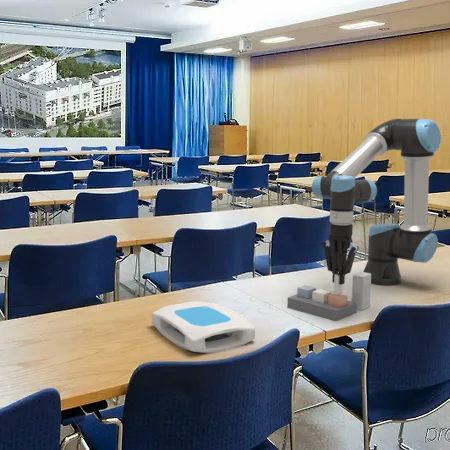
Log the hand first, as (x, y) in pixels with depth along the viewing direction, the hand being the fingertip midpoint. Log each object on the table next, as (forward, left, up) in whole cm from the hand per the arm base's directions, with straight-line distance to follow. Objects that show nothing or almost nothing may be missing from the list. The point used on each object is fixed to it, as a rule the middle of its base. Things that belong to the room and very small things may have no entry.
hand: (337, 292), depth 200 cm
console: (0, -6, -7) cm, 10 cm away
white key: (0, -6, -5) cm, 8 cm away
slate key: (0, -13, -5) cm, 14 cm away
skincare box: (-12, +2, -8) cm, 14 cm away
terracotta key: (0, 0, -5) cm, 5 cm away
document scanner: (+45, -18, -8) cm, 49 cm away
